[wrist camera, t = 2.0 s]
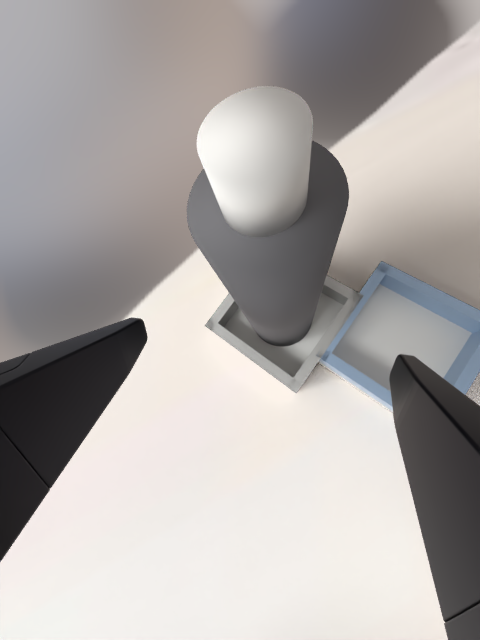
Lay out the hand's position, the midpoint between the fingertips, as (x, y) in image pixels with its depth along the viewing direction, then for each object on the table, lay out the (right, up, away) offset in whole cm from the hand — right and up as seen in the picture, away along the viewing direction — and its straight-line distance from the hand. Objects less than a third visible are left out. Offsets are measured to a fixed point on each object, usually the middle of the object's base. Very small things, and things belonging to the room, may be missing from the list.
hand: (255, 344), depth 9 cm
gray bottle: (+3, +1, +10) cm, 11 cm away
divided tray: (+6, -1, +10) cm, 12 cm away
